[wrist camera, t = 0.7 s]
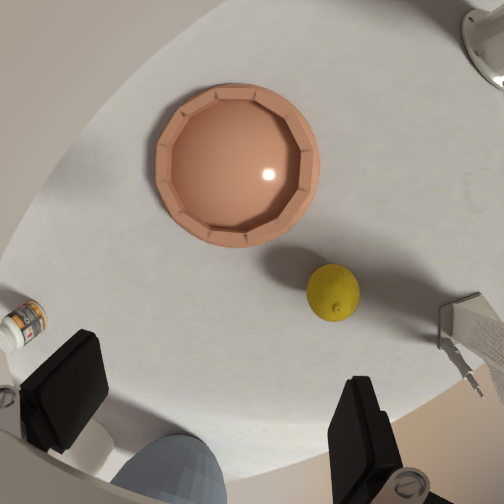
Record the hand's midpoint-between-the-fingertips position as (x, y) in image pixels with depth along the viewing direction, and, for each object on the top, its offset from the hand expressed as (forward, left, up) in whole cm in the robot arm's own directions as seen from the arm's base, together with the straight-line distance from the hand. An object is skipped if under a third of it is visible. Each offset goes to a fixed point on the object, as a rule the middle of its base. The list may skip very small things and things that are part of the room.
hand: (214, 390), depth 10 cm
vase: (+30, +30, -25) cm, 49 cm away
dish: (0, -8, -25) cm, 26 cm away
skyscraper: (-20, +22, -25) cm, 39 cm away
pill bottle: (+42, -4, -25) cm, 49 cm away
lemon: (-4, +8, -25) cm, 27 cm away
